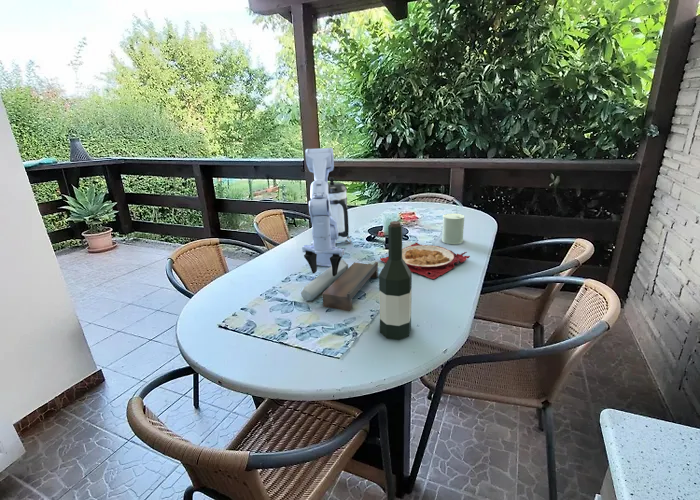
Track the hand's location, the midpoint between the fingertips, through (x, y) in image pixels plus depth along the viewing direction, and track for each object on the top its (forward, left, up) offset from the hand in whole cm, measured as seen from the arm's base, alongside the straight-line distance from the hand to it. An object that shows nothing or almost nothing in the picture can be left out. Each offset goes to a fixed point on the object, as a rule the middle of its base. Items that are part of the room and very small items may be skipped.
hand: (324, 273), depth 123 cm
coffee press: (-15, +43, -5) cm, 46 cm away
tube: (0, 0, -5) cm, 5 cm away
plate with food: (+27, +32, -5) cm, 42 cm away
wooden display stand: (+10, 0, -5) cm, 11 cm away
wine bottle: (+30, -19, -5) cm, 36 cm away
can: (+34, +59, -5) cm, 68 cm away
